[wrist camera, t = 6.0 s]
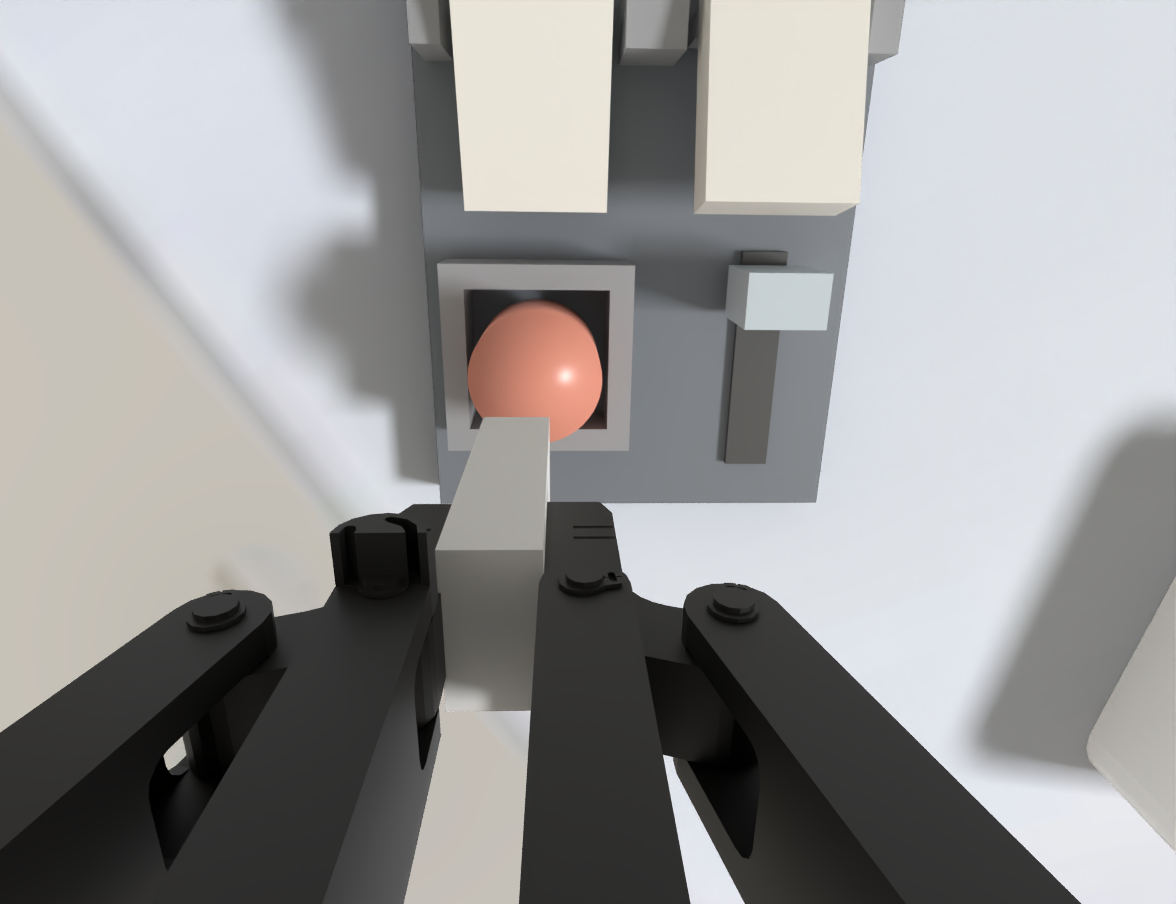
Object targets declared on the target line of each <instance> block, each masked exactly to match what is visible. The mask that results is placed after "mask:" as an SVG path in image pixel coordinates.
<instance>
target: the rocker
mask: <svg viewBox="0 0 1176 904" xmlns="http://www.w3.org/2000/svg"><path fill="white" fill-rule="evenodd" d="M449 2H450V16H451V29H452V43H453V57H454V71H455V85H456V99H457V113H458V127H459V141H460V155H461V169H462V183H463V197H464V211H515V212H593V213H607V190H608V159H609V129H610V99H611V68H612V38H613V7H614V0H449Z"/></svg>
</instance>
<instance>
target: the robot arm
mask: <svg viewBox="0 0 1176 904" xmlns="http://www.w3.org/2000/svg"><path fill="white" fill-rule="evenodd" d="M329 534H330V543H331V551H332V558H333V568H334V576H335V584H336V587H335V588H334V590H333V592H332V593H331V595H330V597H329V598H328V600H327V602H326V603H325V605H324V607H322V608H318V609H314V610H310V611H306V612H300V613H295V614H289V615H284V616H278V617H274V613H273V606H272V601H271V600H270V599H269V598H267V597H266V596H265V595H264V594H261V593H257V592H254V591H248V590H223V591H222V592H220V591H217V592H213V593H209V594H207V595H206V596H203V597H200V598H197V599H194V600H191V601H189V602H187V603H185V604H184V605H182V606H180V607H178V608H176V609H175V610H173V611H172V612H170V613H169V614H167V615H166V616H164V617H163V618H162V619H160V620H159V621H157V622H156V623H155V624H153V625H152V626H150V627H149V628H148V629H146V630H145V631H143V632H142V633H140V634H139V635H138V636H136V637H135V638H133V639H132V640H131V641H129V642H128V643H126V644H125V645H124V646H122V647H121V648H119V649H118V650H116V651H115V652H114V653H112V654H111V655H109V656H108V657H107V658H105V659H104V660H102V661H101V662H99V663H98V664H97V665H95V666H94V667H92V668H91V669H90V670H88V671H87V672H85V673H84V674H83V675H81V676H80V677H78V678H77V679H75V680H74V681H73V682H71V683H70V684H68V685H67V686H66V687H64V688H63V689H61V690H60V691H58V692H57V693H56V694H54V695H53V696H52V697H50V698H49V699H47V700H46V701H45V702H43V703H42V704H40V705H39V706H37V707H36V708H34V709H33V710H32V711H30V712H29V713H28V714H26V715H25V716H23V717H22V718H20V719H19V720H18V721H16V722H15V723H14V724H12V725H11V726H9V727H8V728H6V729H5V730H3V731H2V732H1V733H0V904H404V899H405V895H406V890H407V885H408V881H409V876H410V872H411V867H412V863H413V858H414V854H415V849H416V845H417V840H418V836H419V831H420V827H421V822H422V818H423V813H424V809H425V804H426V800H427V795H428V791H429V786H430V782H431V777H432V772H433V768H434V764H435V759H436V755H437V750H438V746H439V741H440V737H441V733H440V717H439V704H440V700H441V696H442V692H443V688H444V694H445V695H444V696H445V710H446V712H461V711H462V712H463V711H528V710H531V717H530V733H529V749H528V765H527V782H526V798H525V814H524V831H523V848H522V864H521V880H520V896H519V904H690V899H689V894H688V888H687V883H686V878H685V872H684V867H683V861H682V856H681V851H680V845H679V840H678V834H677V829H676V824H675V818H674V813H673V808H672V802H671V797H670V791H669V786H668V781H667V775H666V770H665V764H664V759H663V755H667V756H671V757H673V761H674V765H675V769H676V773H677V775H678V777H679V779H680V781H681V783H682V785H683V786H684V788H685V790H686V792H687V794H688V796H689V798H690V800H691V802H692V804H693V806H694V807H695V809H696V811H697V813H698V815H699V817H700V819H701V821H702V823H703V825H704V827H705V828H706V830H707V832H708V834H709V836H710V838H711V840H712V842H713V844H714V846H715V847H716V849H717V851H718V853H719V855H720V857H721V859H722V861H723V863H724V865H725V867H726V868H727V870H728V872H729V874H730V876H731V878H732V880H733V882H734V884H735V886H736V888H737V889H738V891H739V893H740V895H741V897H742V899H743V901H744V903H745V904H1081V903H1080V902H1079V901H1078V900H1077V899H1076V898H1075V897H1074V896H1073V895H1072V894H1071V893H1070V892H1069V891H1068V890H1067V889H1066V888H1065V887H1064V886H1063V885H1062V884H1061V883H1060V882H1059V881H1058V880H1057V879H1056V878H1055V877H1054V876H1053V875H1052V874H1051V873H1050V872H1049V871H1048V870H1047V869H1046V868H1045V867H1044V866H1043V865H1042V864H1041V863H1040V862H1039V861H1038V860H1037V859H1036V858H1035V857H1034V856H1033V855H1032V854H1031V853H1030V852H1029V851H1028V850H1027V849H1026V848H1025V847H1024V846H1023V845H1022V844H1021V843H1020V842H1019V841H1018V840H1016V839H1015V838H1014V837H1013V836H1012V835H1011V834H1010V833H1009V832H1008V831H1007V830H1006V829H1005V828H1004V827H1003V826H1002V825H1001V824H1000V823H999V822H998V821H997V820H996V819H995V818H994V817H993V816H992V815H991V814H990V813H989V812H988V811H987V810H986V809H985V808H984V807H983V806H982V805H981V804H980V803H979V802H978V801H977V800H976V799H975V798H974V797H973V796H972V795H971V794H970V793H969V792H968V791H967V790H966V789H965V788H964V787H963V786H962V785H961V784H960V783H959V782H958V781H957V780H956V779H955V778H954V777H953V776H952V775H951V774H950V773H949V772H948V771H947V770H946V769H945V768H944V767H943V766H942V765H941V764H940V763H939V762H938V761H937V760H936V759H935V758H934V757H933V756H932V755H931V754H930V753H929V752H928V751H927V750H926V749H925V748H924V747H923V746H922V745H921V744H920V743H919V742H918V741H917V740H916V739H915V738H914V737H913V736H912V735H911V734H910V733H909V732H908V731H907V730H906V729H905V728H904V727H903V726H902V725H901V724H900V723H899V722H898V721H897V720H896V719H895V718H894V717H893V716H892V715H891V714H890V713H889V712H888V711H887V710H886V709H885V708H884V707H883V706H882V705H881V704H879V703H878V702H877V701H876V700H875V699H874V698H873V697H872V696H871V695H870V694H869V693H868V692H867V691H866V690H865V689H864V688H863V687H862V686H861V685H860V684H859V683H858V682H857V681H856V680H855V679H854V678H853V677H852V676H851V675H850V674H849V673H848V672H847V671H846V670H845V669H844V668H843V667H842V666H841V665H840V664H839V663H838V662H837V661H836V660H835V659H834V658H833V657H832V656H831V655H830V654H829V653H828V652H827V651H826V650H825V649H824V648H823V647H822V646H821V645H820V644H819V643H818V642H817V641H816V640H815V639H814V638H813V637H812V636H811V635H810V634H809V633H808V632H807V631H806V630H805V629H804V628H803V627H802V626H801V625H800V624H799V623H798V622H797V621H796V620H795V619H794V618H793V617H792V616H791V615H790V614H789V613H788V612H787V611H786V610H785V609H784V608H783V607H782V606H781V605H780V604H779V603H778V602H777V601H775V600H774V599H772V598H771V597H770V596H768V595H767V594H765V593H764V592H761V591H758V590H756V589H753V588H750V587H748V586H746V585H741V584H738V585H736V583H724V584H710V585H706V586H703V587H699V588H696V589H695V590H694V591H692V592H691V593H689V594H688V595H687V597H686V599H685V602H684V606H683V608H677V607H672V606H666V605H662V604H658V603H654V602H651V601H649V600H646V599H644V598H641V597H640V596H638V595H637V594H635V593H634V592H632V587H631V582H630V581H629V579H628V577H627V576H626V574H625V573H623V572H622V568H621V563H620V557H619V551H618V545H617V539H616V534H615V528H614V522H613V516H612V512H610V511H609V510H608V509H607V508H606V507H605V506H603V505H602V504H601V503H600V502H550V425H549V417H483V420H482V423H481V426H480V428H479V431H478V434H477V437H476V439H475V442H474V445H473V448H472V450H471V453H470V456H469V458H468V461H467V464H466V467H465V469H464V472H463V475H462V478H461V480H460V483H459V486H458V489H457V491H456V494H455V497H454V500H453V502H452V504H413V505H411V506H410V507H408V508H407V509H405V510H404V511H402V512H401V513H399V514H395V513H384V514H372V515H367V516H363V517H358V518H354V519H351V520H349V521H347V522H345V523H342V524H340V525H338V526H337V527H336V528H335V529H334V530H332V531H331V532H330V533H329ZM182 736H183V741H184V745H185V750H186V756H185V757H184V758H183V759H182V760H181V761H180V762H179V763H178V764H177V765H176V766H175V767H173V768H172V769H170V770H168V769H167V768H166V765H165V760H164V756H163V755H164V754H165V753H166V751H167V750H168V749H169V748H170V747H171V746H172V745H173V744H174V743H175V742H177V741H178V740H179V739H180V738H181V737H182Z"/></svg>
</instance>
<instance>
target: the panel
mask: <svg viewBox="0 0 1176 904" xmlns="http://www.w3.org/2000/svg"><path fill="white" fill-rule="evenodd" d="M406 6H407V21H408V36H409V44H410V45H411V50H412V66H413V81H414V97H415V112H416V128H417V143H418V159H419V174H420V190H421V205H422V221H423V236H424V252H425V267H426V283H427V298H428V314H429V329H430V345H431V360H432V376H433V391H434V407H435V422H436V438H437V453H438V469H439V484H440V500H441V504H452V502H453V500H454V497H455V494H456V491H457V489H458V486H459V483H460V480H461V478H462V475H463V472H464V469H465V467H466V464H467V461H468V458H469V456H470V453H471V450H472V448H473V445H474V442H475V439H476V437H477V434H478V431H479V428H480V426H481V423H482V420H483V418H482V417H481V416H480V414H479V413H478V411H477V410H476V408H475V406H474V404H473V401H472V399H471V396H470V392H469V388H468V367H469V362H470V358H471V355H472V353H473V351H474V348H475V346H476V345H477V343H478V341H479V340H480V338H481V336H482V335H483V333H484V331H485V330H486V328H487V326H488V325H489V323H490V322H491V321H492V319H493V318H494V317H495V316H496V315H497V314H498V313H499V312H500V311H502V310H503V309H505V308H506V307H507V306H509V305H511V304H513V303H516V302H519V301H522V300H527V299H536V298H539V299H548V300H553V301H556V302H559V303H561V304H563V305H565V306H567V307H569V308H570V309H572V310H573V311H575V312H576V313H577V314H578V315H579V316H580V317H581V318H582V319H583V320H584V321H585V322H586V324H587V326H588V327H589V329H590V331H591V333H592V335H593V337H594V340H595V343H596V348H597V352H598V356H599V360H600V365H601V370H602V389H601V394H600V398H599V401H598V403H597V406H596V408H595V410H594V411H593V413H592V415H591V416H590V417H589V419H588V420H587V421H586V422H585V423H584V424H583V425H582V426H581V427H580V428H579V429H578V430H576V431H575V432H573V433H572V434H570V435H569V436H567V437H564V438H562V439H560V440H557V441H554V442H550V502H600V503H810V502H816V498H817V491H818V483H819V476H820V469H821V461H822V454H823V446H824V439H825V432H826V424H827V417H828V409H829V402H830V394H831V387H832V380H833V372H834V365H835V357H836V350H837V342H838V335H839V328H840V320H841V313H842V305H843V298H844V291H845V283H846V276H847V268H848V261H849V253H850V246H851V239H852V231H853V224H854V216H855V209H856V205H855V206H854V207H852V208H850V209H848V210H846V211H844V212H842V213H840V214H838V215H836V216H810V215H732V214H694V185H695V145H696V104H697V63H698V22H699V0H614V7H613V38H612V68H611V99H610V129H609V159H608V190H607V213H593V212H515V211H464V197H463V183H462V169H461V155H460V141H459V127H458V113H457V99H456V85H455V71H454V57H453V43H452V29H451V16H450V2H449V0H406ZM904 7H905V0H871V10H870V28H869V46H868V64H867V82H866V100H865V117H864V135H863V150H864V142H865V135H866V127H867V120H868V112H869V105H870V98H871V90H872V83H873V75H874V68H875V64H876V63H878V62H881V61H883V60H885V59H887V58H890V57H892V56H894V55H896V54H898V48H899V41H900V34H901V27H902V21H903V14H904ZM862 157H863V153H862ZM729 265H769V266H807V267H810V268H814V269H818V270H822V271H826V272H829V273H833V274H834V276H833V284H832V292H831V299H830V307H829V315H828V323H827V330H744V329H743V328H741V327H740V326H738V325H737V324H735V323H734V322H733V321H731V320H730V319H728V318H727V317H725V309H726V296H727V284H728V271H729Z"/></svg>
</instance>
